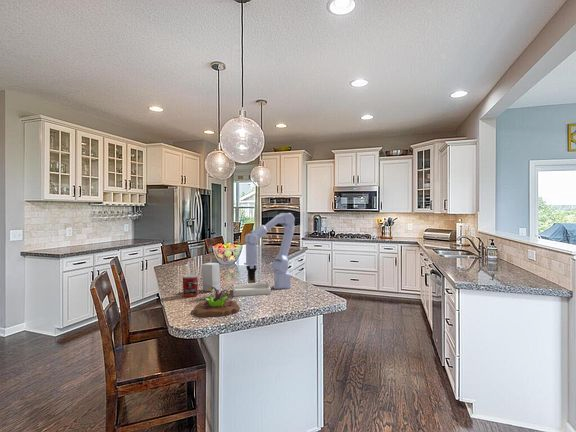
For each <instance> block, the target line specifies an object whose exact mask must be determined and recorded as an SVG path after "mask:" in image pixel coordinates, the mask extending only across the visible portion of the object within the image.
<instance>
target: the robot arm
mask: <svg viewBox="0 0 576 432" xmlns="http://www.w3.org/2000/svg"><path fill="white" fill-rule="evenodd" d="M295 220H296V218H295V216H294V215H293V213H291V212H280V213H278V214H277V215H275V216H274V217H273V218H272V219H271V220H269V221H268V222H267V223H265V224H264V225H258V226H256V228H255V229H254V230H251V231H250V233H246V235H245V236H244V238H243V241H244V243H245V262H243V265H246V267H245V268H246V271H247V275H248V274H249V279H250V280H254V276H255V277H256V271H257V268H258V267H257V264H258V263H257V243H258V241H259V240H260V239H261V238H263V237H265V236H266V235H267V233H268V231H269V230H271V229H272V228H274V227H275V226H277V225H278V224H280V225H281V226H282V227H283V228H284V232H283V237H282V241H281V242H280V243H281V244H280V248H279V250H278V254H277V255H276V256H275V258H274V260H273V261H272V263H271V268H272V269H273V277H274V278H273V280H274V281H273V282H274V283H273V284H274V285H272V287H273V289H275V290H279V289H291V272H290V271H288V270H289V259H288V258H289V257H288V255H289V251H290V247H291V244H292V240H293V237H294V233H295V229H296V227H295Z"/></svg>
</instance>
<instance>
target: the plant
mask: <svg viewBox="0 0 576 432" xmlns="http://www.w3.org/2000/svg"><path fill="white" fill-rule="evenodd" d="M213 288H214V289H215V292H214V293H215V294H214V296H209V298H206V297H205V298H204V299H205V301H202V302H200V303H198V304H196V305H195V306H194V308H193V312H194V313H193V314H194V315H196V316H197V317H198V318H213V317H225V316H231V315H232V314H237V313H239V312H240V306H239V304H238V302H237V301H235V300H232V299H231V300H230V299H227V298H228V296H227V295H230V293H231V292H230V291H229V290H227V289H224V290H221V291H220V290H217V289H216V288H215V287H210V288H209V291H208V292H210V291H212V289H213ZM224 292H226V294H227V295H226V296H223V297H222V294H223V293H224Z"/></svg>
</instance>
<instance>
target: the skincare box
mask: <svg viewBox="0 0 576 432" xmlns="http://www.w3.org/2000/svg"><path fill="white" fill-rule="evenodd" d="M220 273H221V272H220V263H219V262H206V263H202V264H201V276H202V277H201V278H202V279H201V280H202V291H204V292H210V293H211V292H212V293H215V289H214V288H213V289H212V291H209V288H210V287H215V288H216V289H217V290H219V291H220V290H221V275H220Z"/></svg>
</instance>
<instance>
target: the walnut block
mask: <svg viewBox="0 0 576 432" xmlns="http://www.w3.org/2000/svg"><path fill="white" fill-rule="evenodd" d="M247 283H248V284H256V275H255V276H254V280H250V279H249V274H248V273H247Z"/></svg>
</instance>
